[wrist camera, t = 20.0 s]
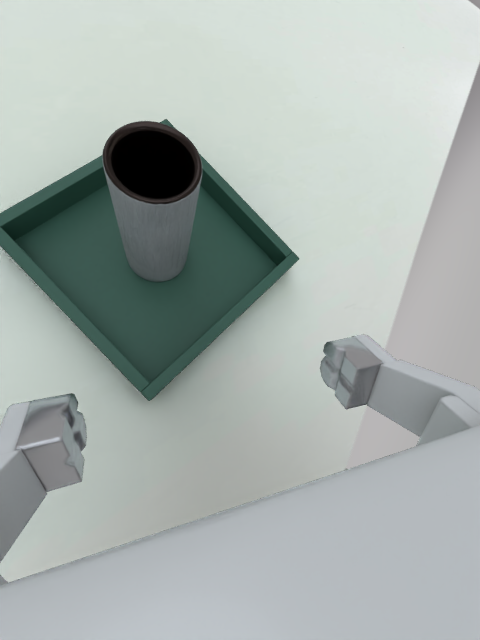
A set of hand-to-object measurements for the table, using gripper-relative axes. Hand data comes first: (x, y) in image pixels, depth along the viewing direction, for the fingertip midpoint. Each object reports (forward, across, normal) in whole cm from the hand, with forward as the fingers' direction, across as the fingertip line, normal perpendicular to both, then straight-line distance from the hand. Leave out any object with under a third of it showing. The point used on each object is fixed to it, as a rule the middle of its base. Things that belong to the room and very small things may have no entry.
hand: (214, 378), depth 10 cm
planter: (+17, 0, -2) cm, 17 cm away
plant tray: (+17, 0, -2) cm, 17 cm away
